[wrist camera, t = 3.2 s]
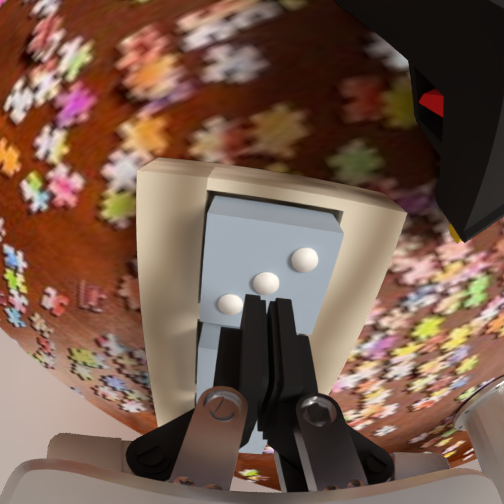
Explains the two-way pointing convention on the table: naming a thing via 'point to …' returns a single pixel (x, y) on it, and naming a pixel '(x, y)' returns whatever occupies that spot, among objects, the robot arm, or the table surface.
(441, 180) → the toy gun
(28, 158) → the table surface
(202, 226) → the board
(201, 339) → the tile two
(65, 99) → the table surface
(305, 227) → the tile three
